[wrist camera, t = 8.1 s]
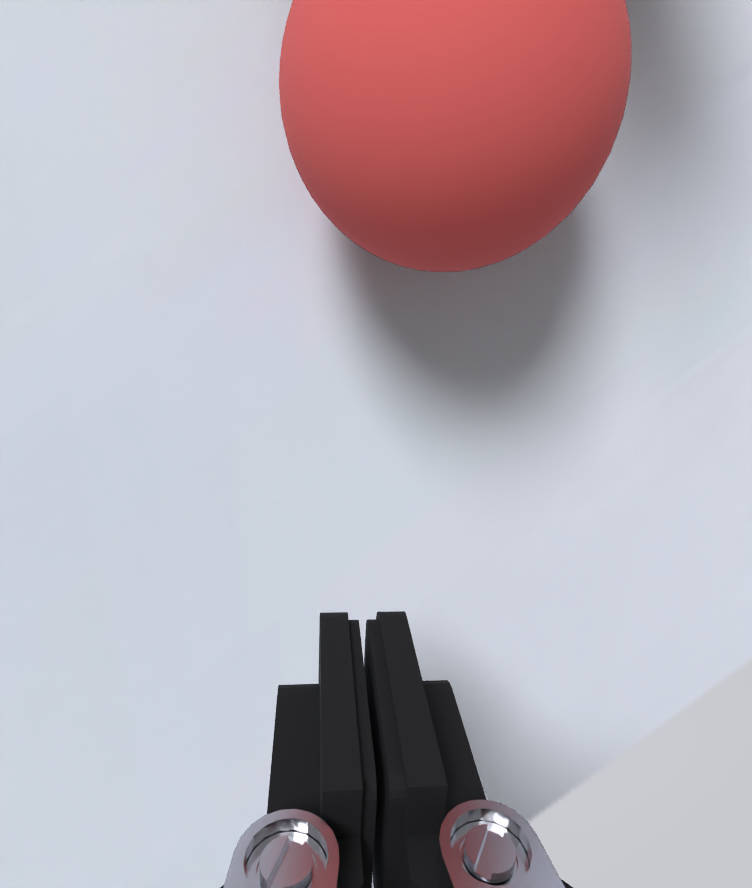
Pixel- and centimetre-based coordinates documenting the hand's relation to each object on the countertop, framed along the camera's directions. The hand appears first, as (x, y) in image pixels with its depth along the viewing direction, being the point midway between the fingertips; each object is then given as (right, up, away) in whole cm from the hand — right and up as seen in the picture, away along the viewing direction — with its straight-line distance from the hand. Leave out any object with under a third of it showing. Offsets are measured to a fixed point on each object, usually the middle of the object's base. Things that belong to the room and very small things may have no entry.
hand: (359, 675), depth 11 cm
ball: (+2, +11, -1) cm, 11 cm away
